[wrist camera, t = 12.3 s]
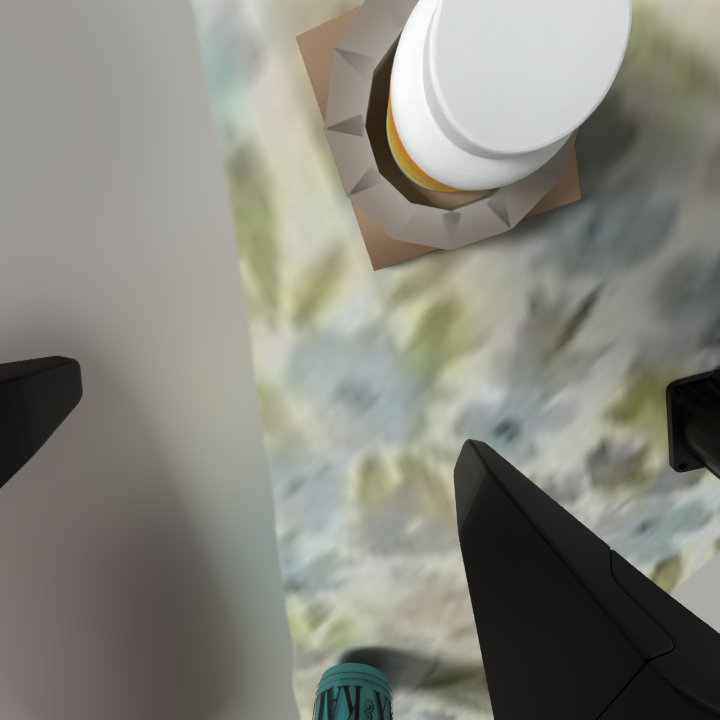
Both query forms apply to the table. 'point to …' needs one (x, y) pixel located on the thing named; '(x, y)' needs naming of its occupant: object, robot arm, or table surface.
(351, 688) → the beverage bottle
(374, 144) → the collar block
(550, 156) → the supplement bottle
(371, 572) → the table surface
